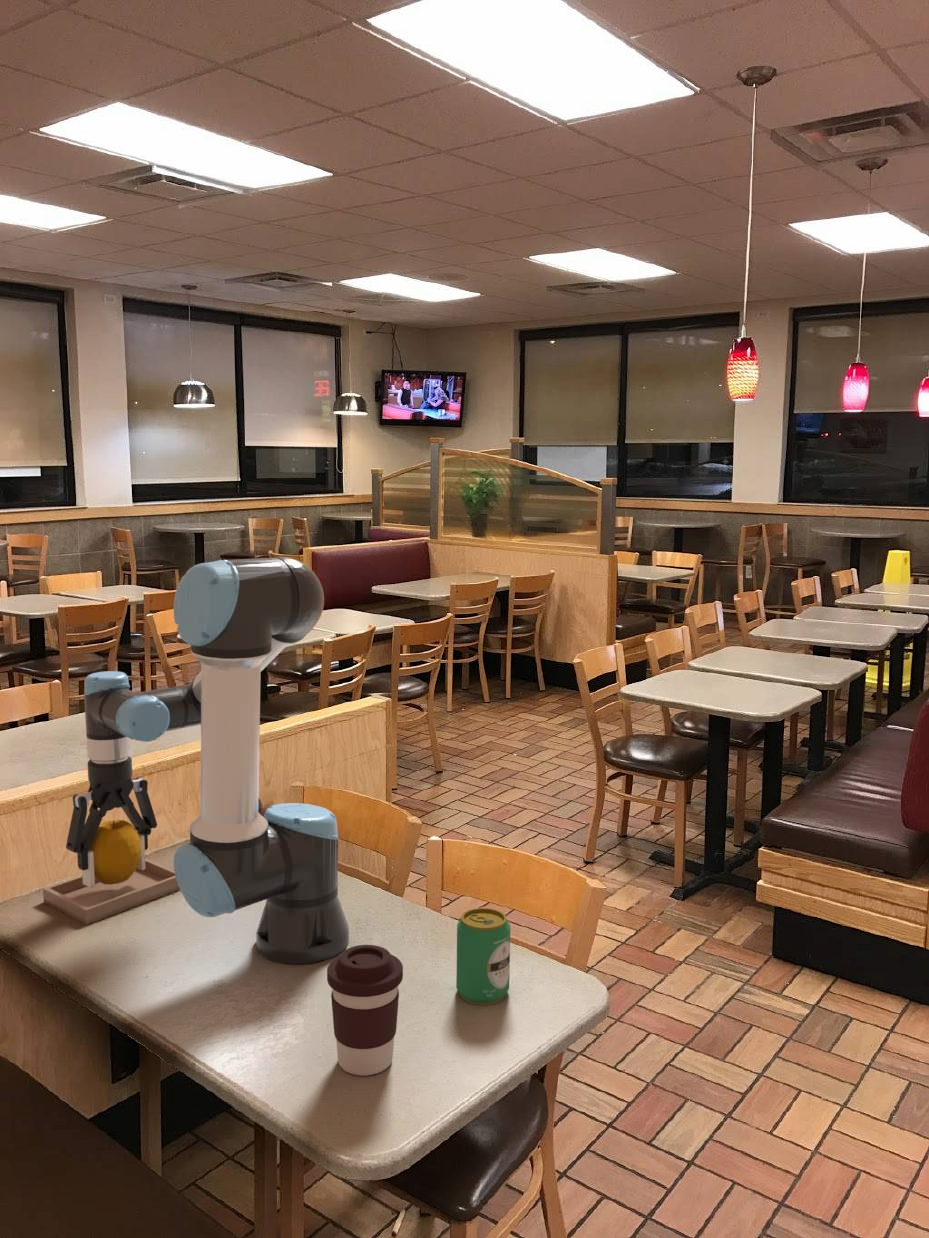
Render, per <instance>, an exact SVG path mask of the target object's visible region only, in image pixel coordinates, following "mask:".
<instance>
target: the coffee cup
mask: <svg viewBox="0 0 929 1238" xmlns="http://www.w3.org/2000/svg"><path fill="white" fill-rule="evenodd" d="M339 954H340V955H339V956H337V957H335V958H334V959H333V960H331V961H330V962H329V964H328V966H327V970H326V979H327V984H328V986H329V987H330V988H331V989H332V990H331V996H330V997H331V1008H332V1009H331V1010H332V1020H333V1021H332V1023H333V1035H334V1037H335V1041H336V1051H337V1052H336V1053H337V1062H338V1065H339V1067H340V1068H341V1069H342V1070H344V1071H345V1072H346V1073H348V1074H351V1075H355V1076H361V1077H363V1076H364V1077H365V1076H372V1075H376V1074H380V1073H382V1072H383V1071H384V1070H386V1069H388V1068H389V1067H390V1066H391V1063H392V1061H393V1057H394V1045H395V1044H394V1043H395V1036H396V1033H397V1028H398V1027H397V1025H398V1024H397V1023H398V1011H399V1001H400V1000H399V999H400V998H399V996H400V991H399V986H400V984H401V983H402V982H403V977H404V971H403V970H404V965H403V963H402V962H401V959H399V958H398V957H396V956H395V955H393V954H391V952H390V951H389V950H387V949H386V948H384V947H381V946H380V945H376V944H375V945H374V944H359V945H358V944H357V945H354V946H351V947H348V948H345V949H344V950H343V951H342V952H340V953H339Z"/></svg>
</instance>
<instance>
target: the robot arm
mask: <svg viewBox="0 0 929 1238" xmlns="http://www.w3.org/2000/svg"><path fill="white" fill-rule="evenodd" d="M173 600H174V601H173V619H174V623H175V624H176V625H177V627H176V631H177V632H178V635H179V637H180V638H181V640H183V642H185V643H186V644H188V645H190V653H191V654H192V655H193V657H195V658H196V659H197V660H198V661H199V663H200V664H201V665H200V667H201V668H200V672H199V673H198V674H197V675H196V677H195V678H194V679H192V681H190V683H187V684H183V685H182V684H181V685H176V686H169V687H164V688H159V689H158V688H157V689H151V690H148V691H147V690H145V691H138V692H137V691H133V690H130V688H131V685H130V682H129V677H128V675H127V674H126V673H125V672H123V671H117V670H116V671H115V670H114V671H113V670H111V671H109V670H108V671H107V670H106V671H98V672H93V673H90V674H88V675H87V676H86V677H85V678H84V688H83V689H84V693H83V696H82V697H83V700H84V713H85V728H86V729H85V733H86V735H85V736H86V752H87V753H86V755H87V758H88V759H89V760H88V762H87V777H88V783H89V787H88V790H87V792H84V793H82V794H77V793H75V794H73V796H72V803H73V804H72V805H73V809H72V815H71V819H70V823H69V824H70V825H69V828H68V834H67V839H66V845H65V848H66V850H68V851H70V852H73V853H74V854H77V856H76V857H77V868H78V869H80V870H81V871H82V872H81V875H82V878H83V884H84V885H86V886H88V887H90V888H92V887H95V876H94V854H93V851H90V850H89V849H90V847H91V844H92V842H93V840H94V837H95V835H96V832H97V830H98V827H99V825H100V824H101V823H102V820H103V818H104V817H105V816H106V814H107V813H108V811H112V810H113V809H115V808H116V809H117V808H119V809H120V808H121V809H122V811H123V813H124V814H125V816H127V819H128V820H129V822H130V824H132V826H133V827H134V828H135V829H136V831H137V833H138V835H139V837H140V840H141V847H142V853H141V858H140V862H139V864H138V866H137V868H138V869H140V870H144V869H146V868H145V858H146V851H147V850H148V848H149V839H148V837H149V836H150V835H151V833H152V829H155V828H157V826H158V822H157V819H156V815H155V812H154V809H153V807H152V803H151V798H150V796H149V793H148V786H149V785H148V780H147V779H143V778H141V777H136V778H135V779H134V780H133V779H132V777H133V758H131V757H130V756H131V755H132V753H133V752H132V740H135V741H140V742H147V743H148V742H152V741H156V740H157V739H159V738H160V737H161V736H162V735H164V733H165V732H171V731H176V730H180V729H185V728H190V727H195V726H200V814H199V815H198V816H197V817H196V818H194V819H193V820H192V821H191V823H190V826H189V842H187V843H183V844H182V845H181V846H178V848H177V850H176V851H175V853H174V856H173V870H174V871H175V876H176V880H177V883H178V886H179V888H180V890H179V891H180V892H181V894H182V897H183V898H184V900H185V901H186V902H187V905H189V906H190V908H191V909H192V910H193V911H194V912H196V914H198V915H200V916H202V917H205V918H215V917H219V916H222V915H226V914H232V913H234V912H235V911H237V910H240V909H242V908H245V907H249V906H251V905H254V904H257V903H259V902H262V901H265V900H266V901H265V905H264V907H263V911H262V914H261V917H260V920H259V924H258V926H257V929H256V949H257V951H258V953H259V954H260V955H262V957H265V958H267V959H268V960H271V961H274V962H278V963H282V964H289V965H290V964H291V965H298V964H299V965H304V964H311V963H312V964H314V963H317V962H322V961H325V960H329V959H331V958H333V957H335V956H337V955H339V954H341V953H342V952H343V951H345V950H346V949H347V947H348V944H349V941H350V939H349V938H350V937H349V936H350V931H349V929H350V928H349V924H348V920H347V918H346V915H345V913H344V909H343V906H342V904H341V901H340V898H339V874H338V873H339V871H338V869H339V867H338V866H339V864H338V860H339V859H338V858H339V857H338V856H339V853H338V851H339V849H338V847H339V837H340V836H339V835H338V834H339V832H338V822H337V818H336V815H335V814H334V813H333V812H332V811H331V810H329V809H328V808H325V807H323V806H319V805H315V804H309V803H299V802H288V803H287V802H286V803H285V802H284V803H283V802H282V803H277V804H273V805H269V806H268V808H267V809H266V811H265V815H264V817H263V816H262V815H260V814H259V813H258V798H259V794H260V791H259V789H260V787H259V786H260V785H259V784H260V780H259V779H260V732H261V731H260V729H261V726H260V725H261V721H260V719H261V676H262V675H261V672H262V671H264V670H265V668H267V667H268V665H269V664H270V663H272V661H274V660H275V658H276V657H277V656H278V655H279V654H280V653H281V652H282V651H283V650H284V649H286V647H288V646H289V645H292V644H297V643H299V642H300V641H302V640H303V639H304V638H305V637H306V636H307V635H308V634H309V633H311V631H312V630H313V629H314V628H315V627H316V625H317V623H318V622H319V620H320V618H321V616H322V613H323V610H324V607H325V606H324V604H325V595H324V589H323V586H322V584H321V581H320V579H319V577H318V576H317V574H316V573H315V572H314V571H313V570H312V569H311V568H310V567H309V566H307V564H305V563H303V562H302V561H300V560H298V559H295V558H293V557H292V558H291V557H287V556H271V557H261V558H259V557H257V558H242V559H240V558H239V559H238V558H237V559H223V560H222V559H217V560H213V561H209V562H202V563H197V564H196V565H193V566H192V567H190V568H188V570H187V571H186V572H185V574H184V575H183V576H182V577H181V579H180V581H179V583H178V584H177V588H176V590H175V594H174V599H173ZM132 791H134V794H135V799H136V802H137V806H138V808H139V811H140V813H139V812H138V810H137V808H136V807H135V803H134V801H132V799H131V797H130V795H131V792H132ZM90 801H91V805H90ZM89 805H90V806H89ZM88 807H89V810H88ZM88 811H89V813H88ZM87 814H88V816H87ZM86 818H87V819H86Z"/></svg>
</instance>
